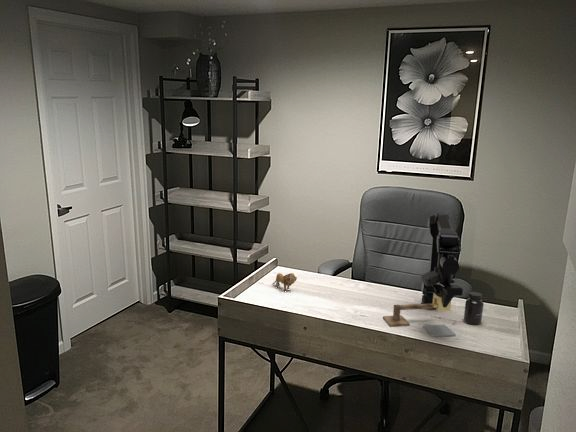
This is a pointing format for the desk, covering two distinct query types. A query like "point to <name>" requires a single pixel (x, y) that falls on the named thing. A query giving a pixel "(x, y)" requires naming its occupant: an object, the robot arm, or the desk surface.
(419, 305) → the walnut stand
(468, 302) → the supplement bottle
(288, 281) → the lion figurine
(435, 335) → the slate mat
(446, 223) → the robot arm
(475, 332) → the desk surface
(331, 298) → the desk surface
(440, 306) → the slotted brass block
